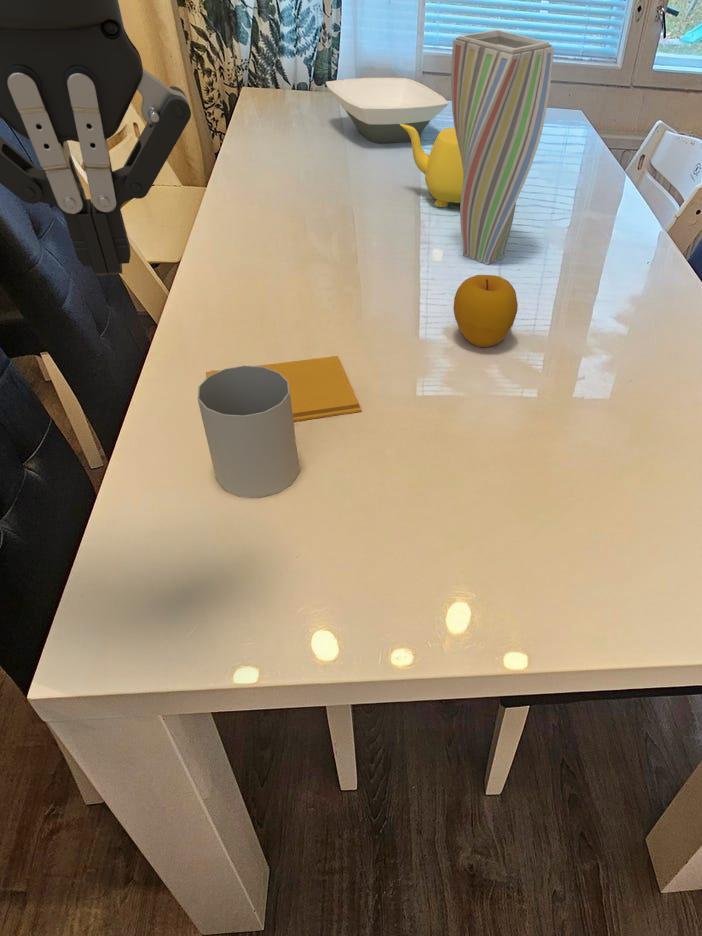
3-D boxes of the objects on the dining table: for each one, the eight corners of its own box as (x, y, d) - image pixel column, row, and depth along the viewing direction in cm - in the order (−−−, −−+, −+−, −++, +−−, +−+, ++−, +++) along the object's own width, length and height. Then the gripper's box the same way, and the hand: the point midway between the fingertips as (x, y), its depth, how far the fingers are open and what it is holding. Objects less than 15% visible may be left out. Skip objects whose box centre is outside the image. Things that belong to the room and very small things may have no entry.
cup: (205, 494, 70) (185, 412, 63) (226, 443, 76) (210, 363, 69) (291, 499, 71) (280, 419, 64) (305, 448, 76) (297, 369, 70)
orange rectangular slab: (218, 433, 77) (217, 430, 77) (206, 374, 85) (205, 371, 85) (361, 411, 82) (361, 409, 82) (337, 357, 90) (337, 355, 90)
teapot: (503, 219, 127) (511, 143, 118) (393, 206, 127) (393, 129, 118) (506, 192, 137) (514, 119, 128) (404, 180, 137) (405, 107, 128)
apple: (484, 318, 101) (490, 258, 94) (526, 344, 96) (535, 283, 90) (439, 335, 96) (442, 273, 90) (480, 363, 92) (487, 300, 86)
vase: (426, 254, 114) (434, 34, 93) (475, 231, 122) (492, 24, 102) (494, 282, 109) (518, 56, 88) (540, 256, 117) (572, 44, 97)
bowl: (409, 116, 167) (409, 75, 162) (454, 147, 154) (457, 104, 148) (320, 122, 158) (317, 79, 153) (360, 156, 145) (359, 110, 139)
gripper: (158, -110, 35) (216, 236, 47) (-169, -139, 31) (-13, 250, 43) (169, -94, 30) (231, 288, 42) (-217, -125, 26) (-26, 310, 38)
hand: (108, 268), depth 42 cm, fingers closed
